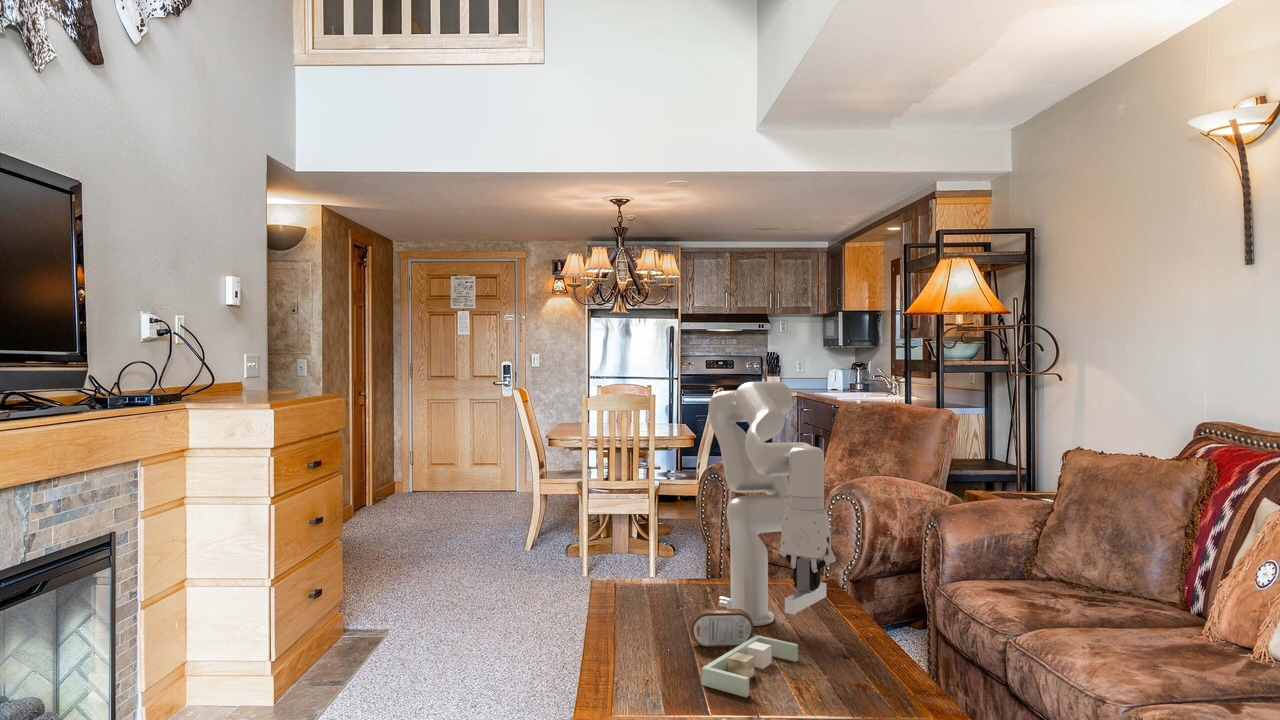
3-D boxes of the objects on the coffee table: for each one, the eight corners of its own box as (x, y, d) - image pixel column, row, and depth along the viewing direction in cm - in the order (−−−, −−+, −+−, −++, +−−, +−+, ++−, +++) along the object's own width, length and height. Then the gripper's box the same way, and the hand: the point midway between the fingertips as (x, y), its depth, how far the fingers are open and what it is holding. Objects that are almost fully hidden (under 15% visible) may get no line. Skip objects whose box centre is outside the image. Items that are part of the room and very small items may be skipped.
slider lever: (782, 612, 163) (782, 564, 163) (816, 594, 176) (816, 550, 176) (795, 615, 161) (795, 567, 161) (828, 596, 174) (828, 552, 174)
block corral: (701, 685, 158) (701, 667, 158) (756, 650, 177) (756, 635, 177) (746, 697, 152) (746, 679, 152) (797, 660, 171) (797, 644, 171)
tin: (752, 642, 182) (752, 607, 182) (755, 647, 179) (755, 611, 179) (689, 644, 181) (688, 608, 181) (690, 649, 178) (690, 612, 178)
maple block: (728, 677, 162) (728, 657, 162) (737, 671, 165) (737, 652, 165) (745, 681, 160) (745, 662, 160) (754, 675, 163) (754, 656, 163)
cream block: (746, 665, 168) (746, 646, 168) (755, 659, 172) (755, 641, 172) (763, 669, 166) (763, 650, 166) (771, 663, 169) (771, 645, 169)
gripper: (764, 501, 171) (764, 584, 171) (834, 510, 160) (834, 598, 160) (781, 497, 176) (781, 577, 176) (849, 505, 166) (849, 590, 166)
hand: (806, 586), depth 168 cm, fingers closed on slider lever, 3 cm apart
